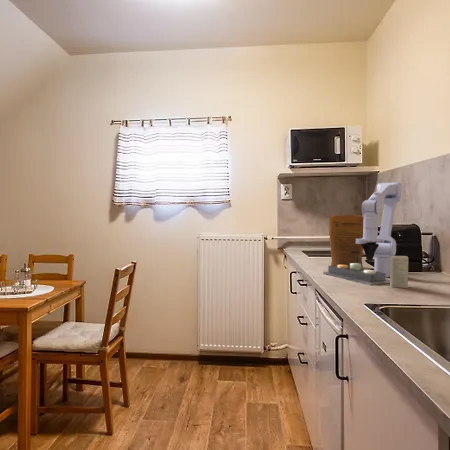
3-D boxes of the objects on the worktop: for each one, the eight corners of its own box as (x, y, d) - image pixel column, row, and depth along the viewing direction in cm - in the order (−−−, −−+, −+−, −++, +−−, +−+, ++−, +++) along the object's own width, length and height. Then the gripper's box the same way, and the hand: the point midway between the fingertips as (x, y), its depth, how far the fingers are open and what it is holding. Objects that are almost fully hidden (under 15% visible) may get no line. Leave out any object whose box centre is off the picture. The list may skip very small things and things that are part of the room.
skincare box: (406, 286, 147) (407, 256, 147) (408, 288, 143) (409, 257, 143) (389, 284, 149) (390, 255, 149) (390, 287, 145) (391, 256, 145)
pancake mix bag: (365, 269, 190) (366, 214, 189) (327, 266, 197) (328, 214, 196) (365, 267, 196) (367, 214, 195) (329, 264, 204) (330, 214, 202)
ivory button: (369, 277, 159) (369, 269, 159) (378, 279, 155) (378, 271, 155) (360, 278, 157) (361, 270, 157) (369, 280, 153) (370, 271, 153)
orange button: (342, 271, 174) (342, 264, 173) (350, 273, 169) (350, 265, 169) (334, 272, 172) (334, 264, 171) (342, 273, 167) (342, 266, 167)
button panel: (342, 272, 178) (342, 264, 178) (391, 283, 153) (391, 273, 153) (323, 273, 173) (323, 265, 173) (370, 285, 148) (370, 275, 148)
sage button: (355, 270, 166) (355, 262, 166) (363, 271, 162) (363, 264, 162) (347, 270, 164) (347, 263, 164) (355, 272, 160) (355, 264, 160)
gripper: (375, 227, 163) (374, 258, 163) (350, 228, 156) (349, 259, 157) (388, 228, 156) (387, 260, 157) (363, 229, 150) (362, 262, 151)
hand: (369, 260), depth 157 cm, fingers closed
